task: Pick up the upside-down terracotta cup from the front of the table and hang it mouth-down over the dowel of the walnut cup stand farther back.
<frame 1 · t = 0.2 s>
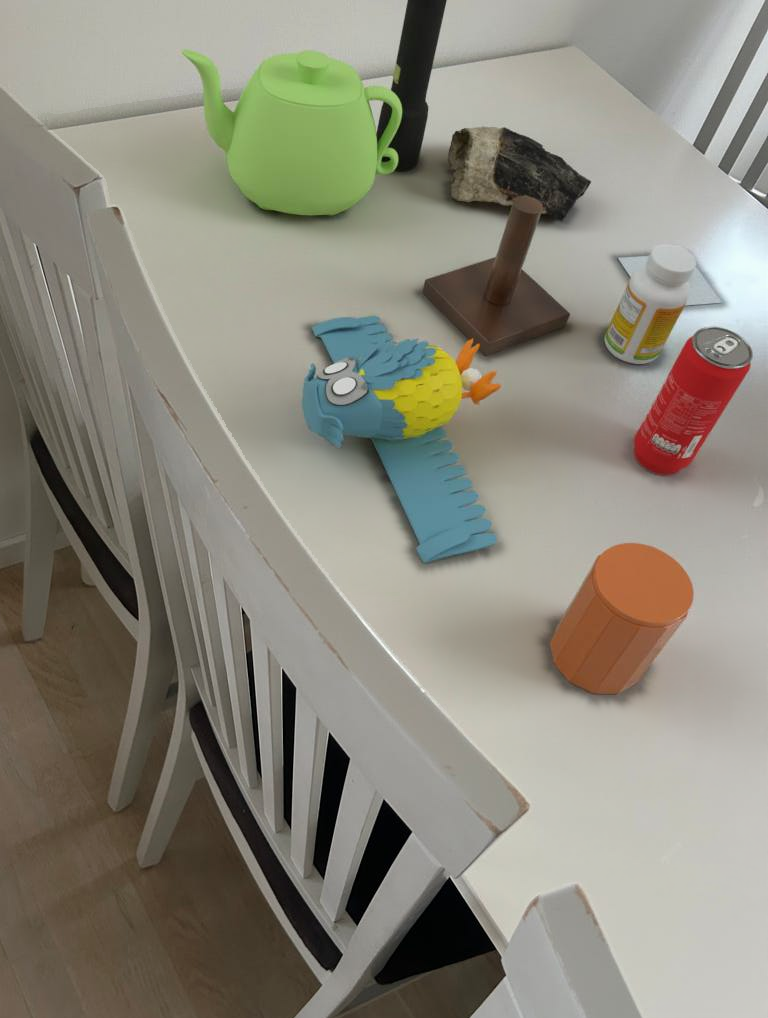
cup: (595, 654, 73), on the table
mineral specimen: (514, 191, 107), on the table
flashlight: (394, 160, 108), on the table
owl figurine: (385, 433, 84), on the table
cup stand: (493, 309, 95), on the table
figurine: (668, 281, 100), on the table
teapot: (286, 188, 103), on the table
supplement bottle: (630, 348, 94), on the table
beverage can: (657, 458, 86), on the table
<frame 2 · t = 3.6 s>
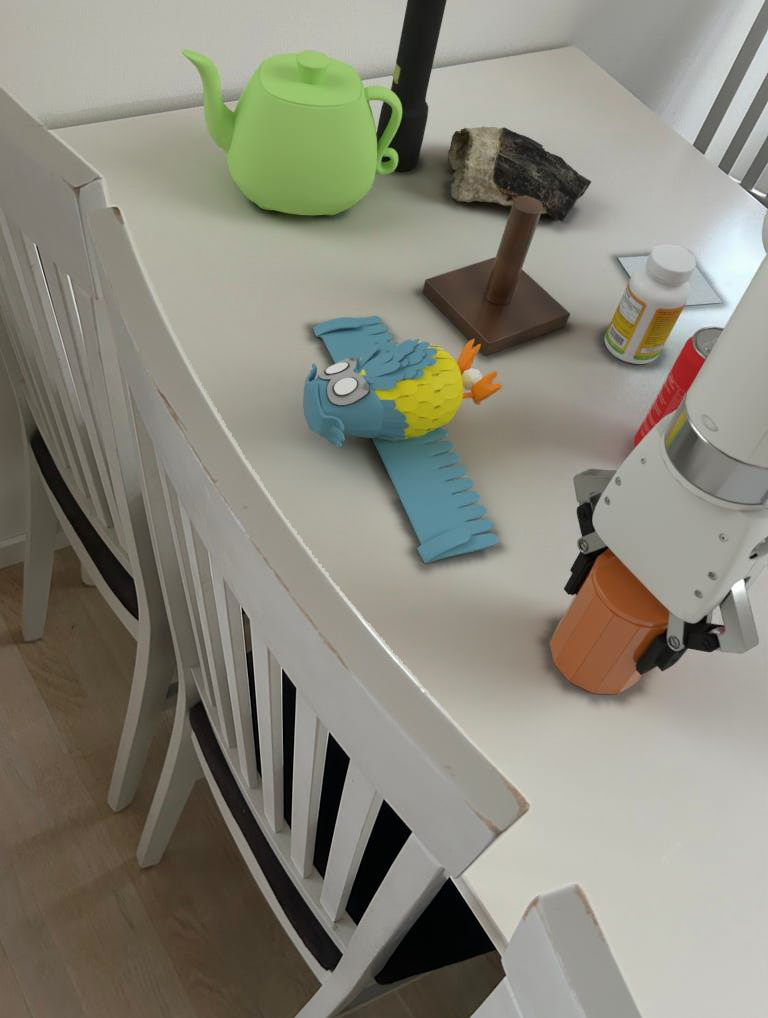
hand: (616, 622, 70), 4 cm above the table, tool pointing down, fingers closed on cup, 6 cm apart
cup: (595, 654, 73), on the table, touching gripper
everything else where it was.
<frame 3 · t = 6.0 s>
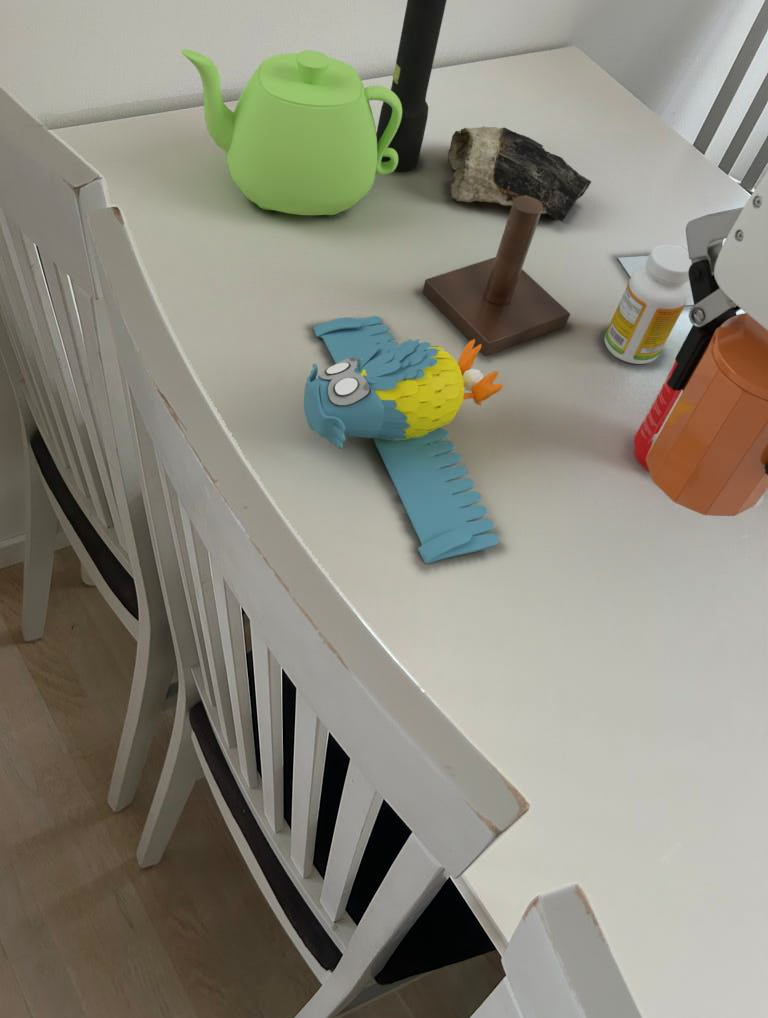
hand: (736, 421, 56), 22 cm above the table, tool pointing down, fingers closed on cup, 6 cm apart
cup: (703, 472, 59), point 18 cm above the table, touching gripper
everything else where it was.
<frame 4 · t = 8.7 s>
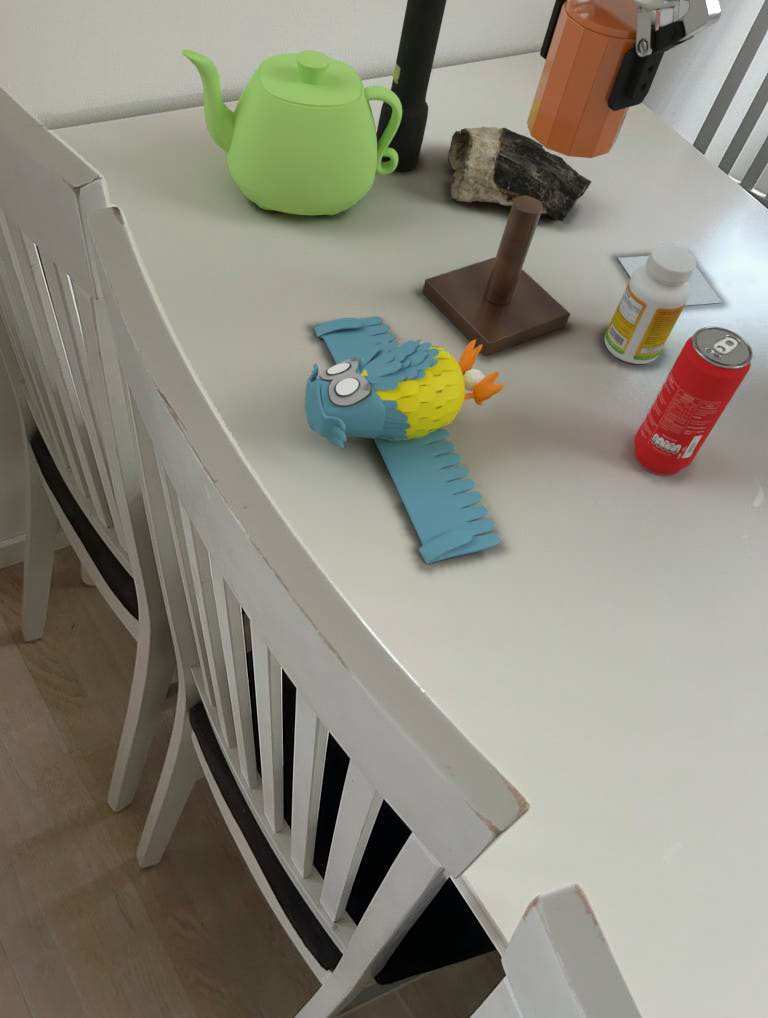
hand: (590, 77, 73), 24 cm above the table, tool pointing down, fingers closed on cup, 6 cm apart
cup: (570, 132, 77), point 19 cm above the table, touching gripper
everything else where it was.
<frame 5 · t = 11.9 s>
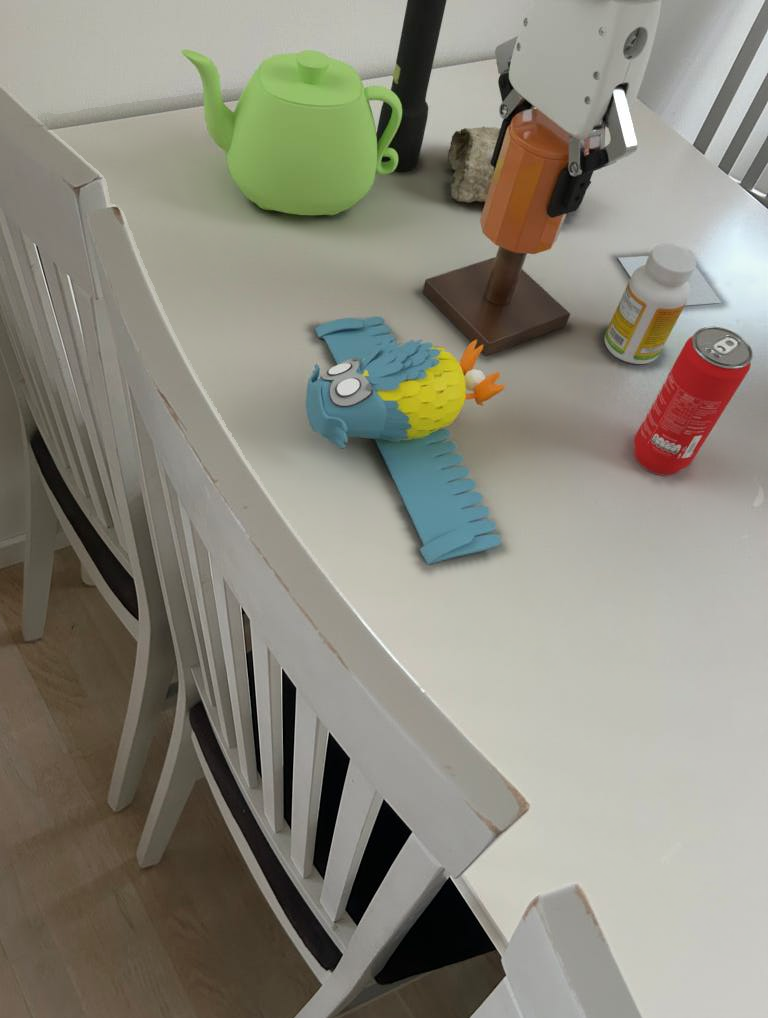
hand: (533, 186, 84), 13 cm above the table, tool pointing down, fingers closed on cup, 6 cm apart
cup: (518, 229, 88), point 9 cm above the table, touching gripper
everything else where it was.
when the fingers open (7 cm above the table, at t = 14.1 s): cup stays where it is, resting on cup stand.
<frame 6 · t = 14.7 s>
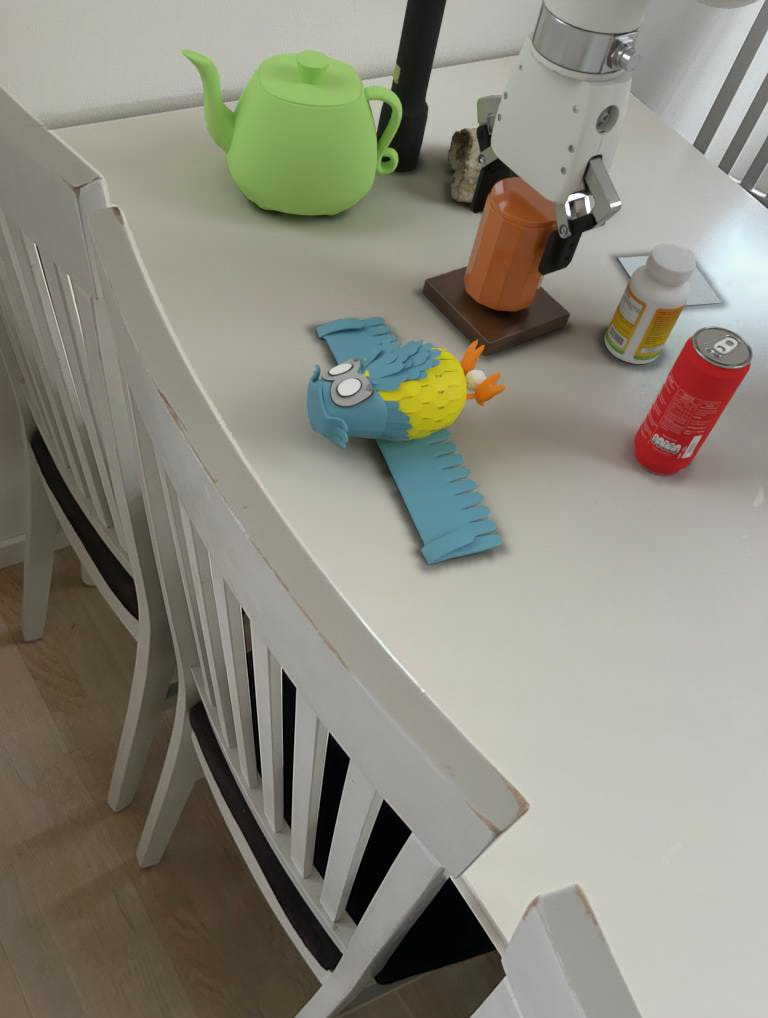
hand: (517, 238, 88), 8 cm above the table, tool pointing down, fingers open, 9 cm apart
cup: (499, 287, 93), point 2 cm above the table, touching cup stand
everything else where it was.
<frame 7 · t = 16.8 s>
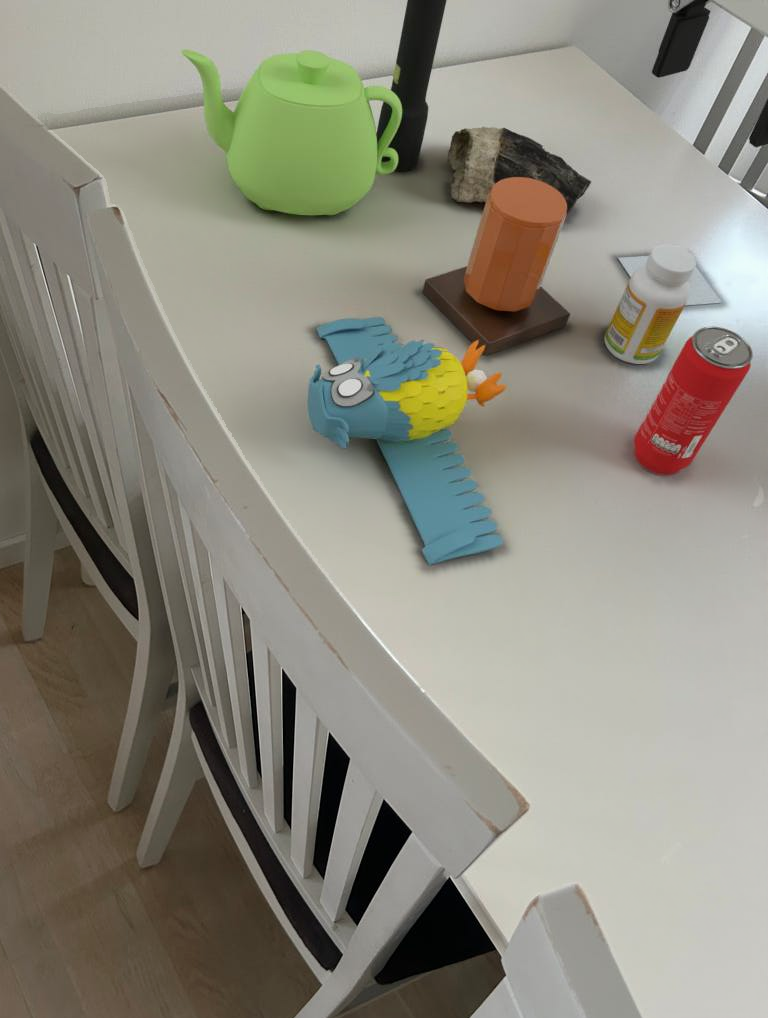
hand: (716, 105, 70), 25 cm above the table, tool pointing down, fingers open, 9 cm apart
nothing on the table moved.
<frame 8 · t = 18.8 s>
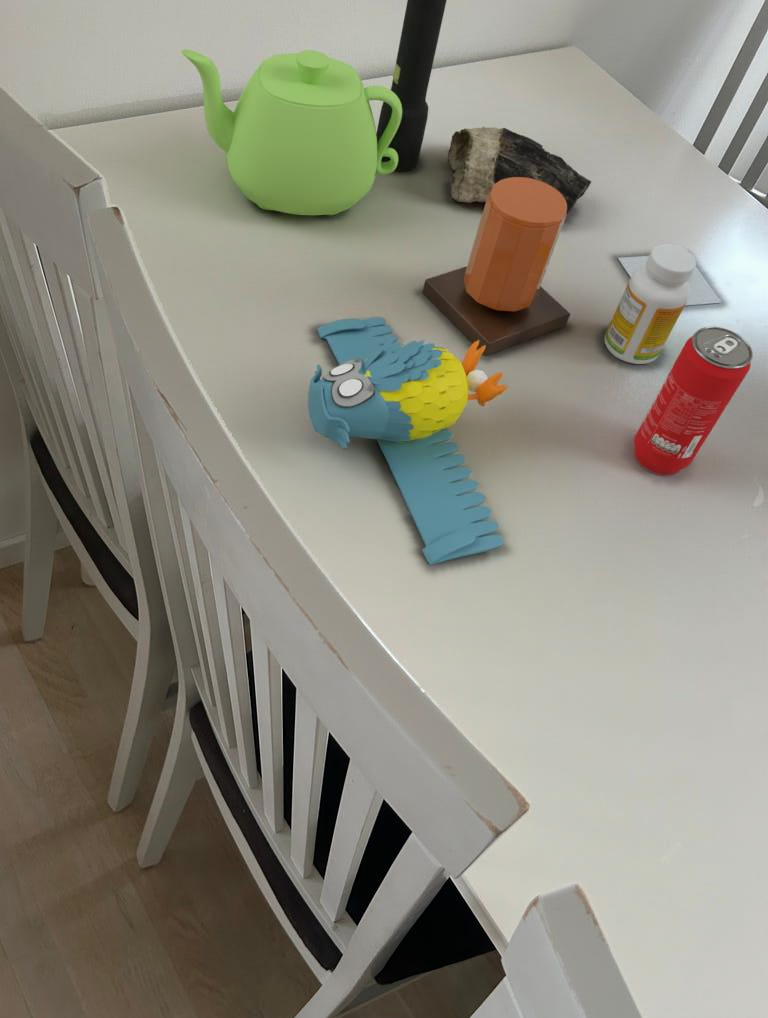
nothing on the table moved.
at the end: cup 0.1 cm from the cup stand (horizontally); cup point 2.5 cm above the table; cup tilted 0° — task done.
